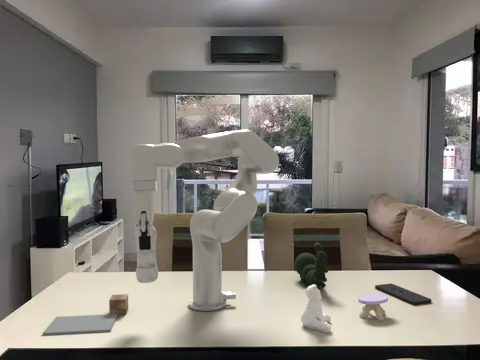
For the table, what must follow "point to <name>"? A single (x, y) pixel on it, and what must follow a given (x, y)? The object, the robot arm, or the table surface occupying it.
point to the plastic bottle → (146, 259)
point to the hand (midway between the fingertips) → (146, 246)
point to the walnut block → (118, 304)
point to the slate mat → (81, 324)
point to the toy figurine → (312, 267)
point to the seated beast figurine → (315, 311)
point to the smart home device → (403, 294)
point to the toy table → (373, 305)
